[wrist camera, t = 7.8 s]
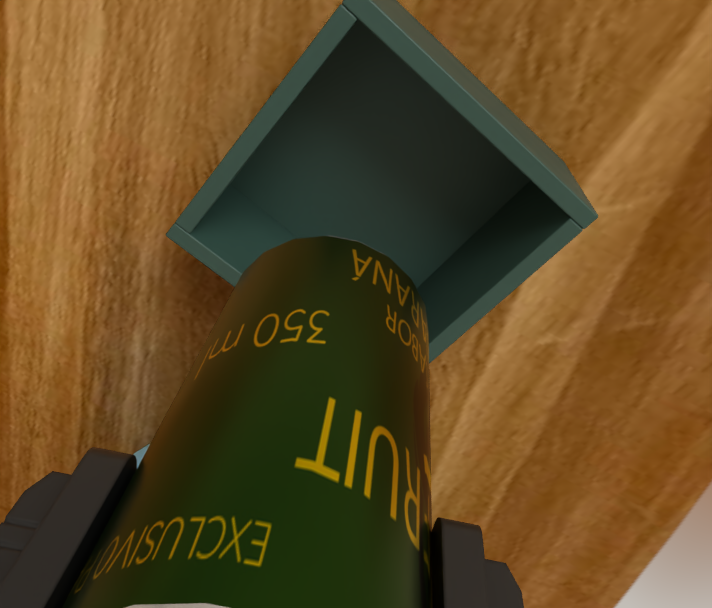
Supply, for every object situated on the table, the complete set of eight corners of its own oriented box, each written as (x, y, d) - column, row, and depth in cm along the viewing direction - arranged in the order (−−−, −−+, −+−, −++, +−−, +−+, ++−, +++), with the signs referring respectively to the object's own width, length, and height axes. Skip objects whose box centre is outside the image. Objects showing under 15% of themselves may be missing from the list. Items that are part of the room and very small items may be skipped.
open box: (370, -25, 26) (355, -16, 20) (564, 162, 29) (599, 216, 23) (212, 181, 31) (164, 235, 25) (392, 323, 33) (386, 401, 28)
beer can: (314, 418, 20) (194, 945, 9) (196, 289, 18) (-113, 769, 8) (465, 339, 18) (525, 887, 8) (352, 185, 16) (224, 631, 6)
